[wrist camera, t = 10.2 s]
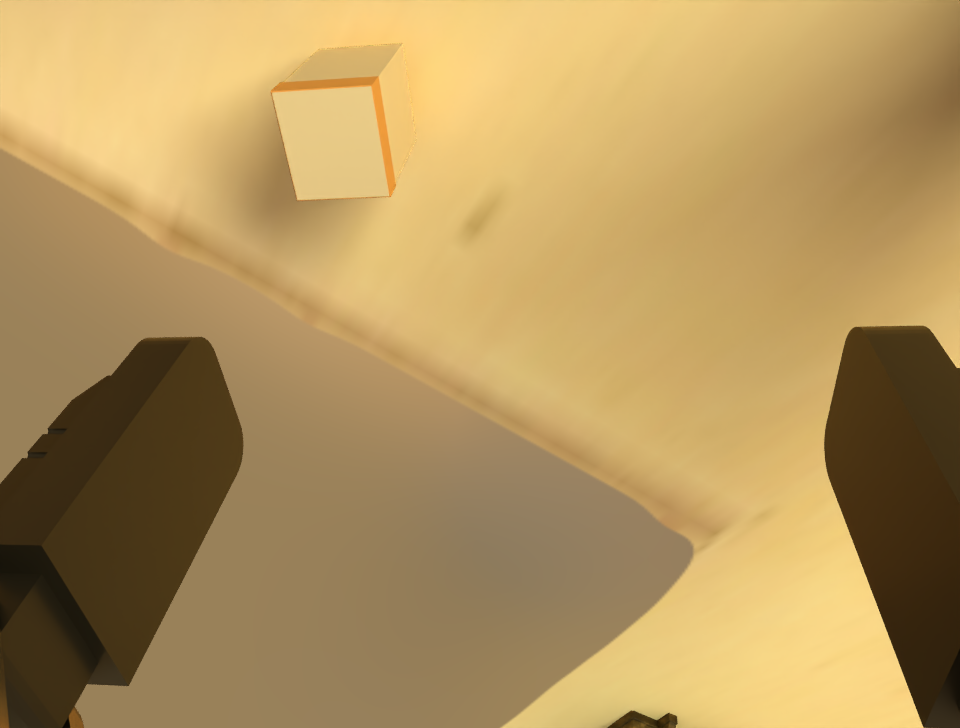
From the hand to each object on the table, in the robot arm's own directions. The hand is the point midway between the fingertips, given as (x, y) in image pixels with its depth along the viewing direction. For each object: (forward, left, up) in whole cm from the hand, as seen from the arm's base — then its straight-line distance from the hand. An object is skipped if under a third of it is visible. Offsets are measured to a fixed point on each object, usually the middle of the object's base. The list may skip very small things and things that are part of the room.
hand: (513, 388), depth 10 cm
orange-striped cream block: (+9, +4, -29) cm, 30 cm away
